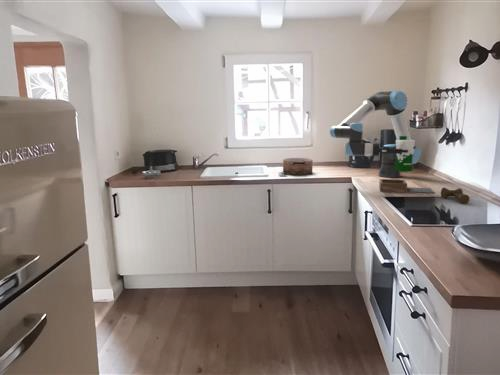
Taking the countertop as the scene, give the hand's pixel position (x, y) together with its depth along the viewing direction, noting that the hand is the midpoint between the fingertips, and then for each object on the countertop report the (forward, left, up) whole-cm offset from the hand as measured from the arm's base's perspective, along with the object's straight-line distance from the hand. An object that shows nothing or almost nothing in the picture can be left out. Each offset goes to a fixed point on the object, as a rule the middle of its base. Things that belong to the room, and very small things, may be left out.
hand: (413, 150), depth 222 cm
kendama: (+20, +20, -24) cm, 37 cm away
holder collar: (-1, -10, -24) cm, 26 cm away
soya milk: (0, -4, -12) cm, 13 cm away
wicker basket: (-53, -75, -24) cm, 95 cm away
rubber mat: (-1, +6, -24) cm, 24 cm away
